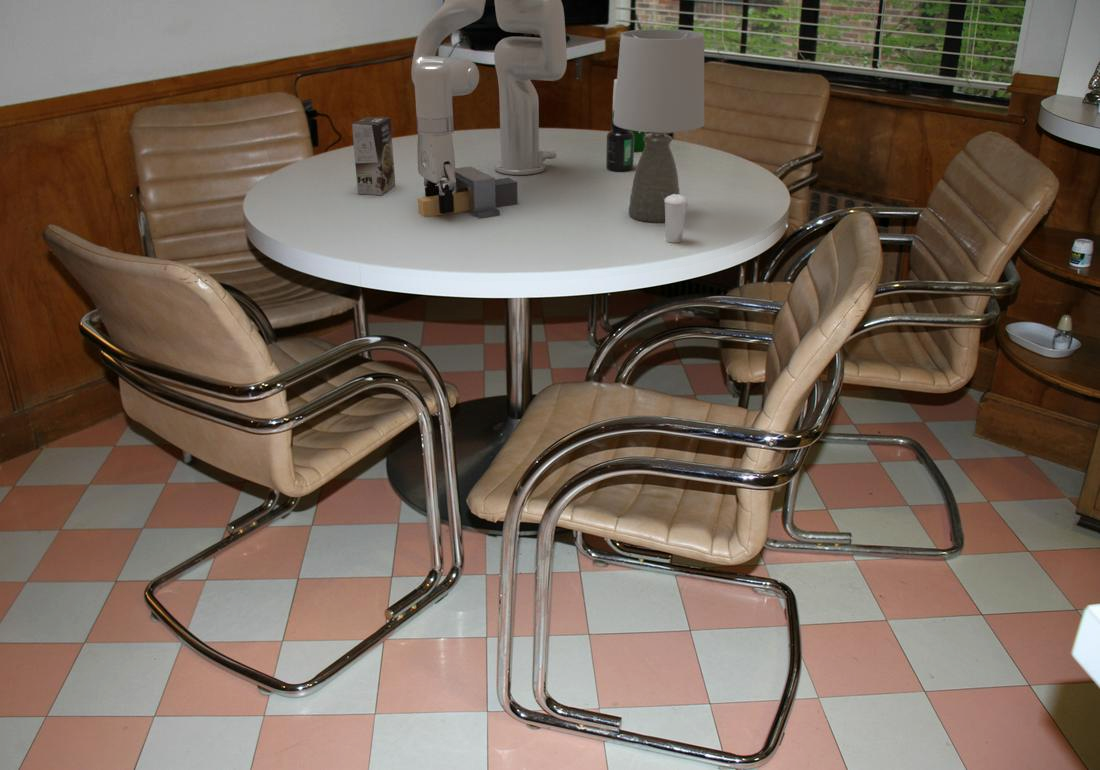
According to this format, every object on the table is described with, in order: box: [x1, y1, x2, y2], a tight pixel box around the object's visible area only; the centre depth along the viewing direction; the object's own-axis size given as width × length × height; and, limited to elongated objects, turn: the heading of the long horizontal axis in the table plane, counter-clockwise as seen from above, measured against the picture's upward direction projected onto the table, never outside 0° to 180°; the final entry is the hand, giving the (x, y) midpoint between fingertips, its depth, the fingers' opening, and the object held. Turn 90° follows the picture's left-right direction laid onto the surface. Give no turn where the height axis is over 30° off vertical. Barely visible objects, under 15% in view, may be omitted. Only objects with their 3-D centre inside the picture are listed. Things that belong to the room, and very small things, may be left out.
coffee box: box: [351, 116, 396, 196], centre depth 228 cm, size 9×6×16 cm
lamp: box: [613, 28, 705, 223], centre depth 204 cm, size 19×19×37 cm
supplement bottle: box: [605, 119, 635, 173], centre depth 246 cm, size 7×7×12 cm
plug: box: [417, 177, 519, 218], centre depth 217 cm, size 22×4×5 cm, turn 117°
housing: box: [454, 166, 501, 219], centre depth 216 cm, size 5×16×8 cm, turn 30°
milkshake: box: [661, 193, 689, 244], centre depth 194 cm, size 5×5×10 cm
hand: (439, 207), depth 214 cm, fingers open, 6 cm apart
